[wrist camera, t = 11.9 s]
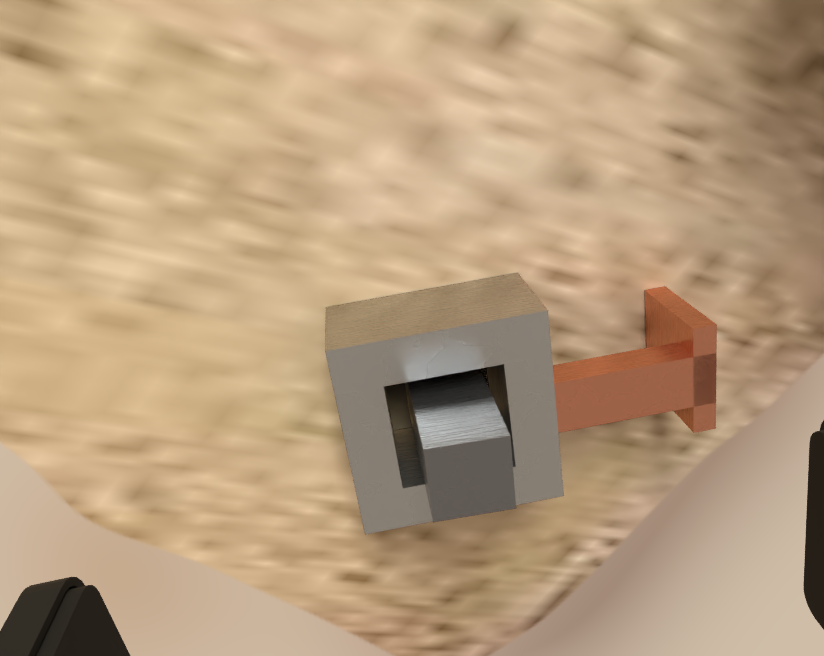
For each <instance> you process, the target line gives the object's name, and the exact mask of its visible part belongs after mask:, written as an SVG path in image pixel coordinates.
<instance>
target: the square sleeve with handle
mask: <svg viewBox="0 0 824 656" xmlns="http://www.w3.org/2000/svg"><path fill="white" fill-rule="evenodd" d="M645 317H646V348H644V349H639V350H633V351H628V352H623V353H617V354H612V355H606V356H601V357H596V358H590V359H585V360H580V361H574V362H569V363H564V364H558V365H553V364H552V352H551V341H550V329H549V317H548V310H547V309H546V307H545V306H544V305H543V304H542V302H541V301H540V300H539V299H538V297H537V296H536V295H535V294H534V292H533V291H532V290H531V289H530V287H529V286H528V285H527V284H526V282H525V281H524V280H523V279H522V278H521V276H520V275H519V274H518V273H514V274H509V275H503V276H498V277H492V278H487V279H481V280H476V281H470V282H464V283H459V284H453V285H448V286H442V287H437V288H431V289H426V290H420V291H415V292H409V293H404V294H398V295H393V296H387V297H381V298H376V299H370V300H365V301H359V302H354V303H348V304H343V305H337V306H332V307H326V328H325V352H326V357H327V361H328V366H329V370H330V375H331V380H332V384H333V389H334V393H335V398H336V403H337V407H338V412H339V416H340V421H341V426H342V430H343V435H344V439H345V444H346V448H347V453H348V458H349V462H350V467H351V471H352V476H353V481H354V485H355V490H356V494H357V499H358V504H359V508H360V513H361V517H362V522H363V526H364V531H365V534H370V533H376V532H381V531H386V530H391V529H396V528H401V527H406V526H412V525H417V524H422V523H427V522H432V521H433V520H432V515H431V511H430V506H429V501H428V497H427V492H426V487H425V483H424V478H423V474H422V469H421V464H420V460H419V455H418V451H417V446H416V441H415V437H414V432H413V427H410V428H405V429H399V430H394V431H393V427H392V422H391V416H390V411H389V405H388V400H387V395H386V389H385V386H389V385H395V384H400V383H405V382H411V381H416V380H422V379H427V378H432V377H438V376H443V375H448V374H454V373H459V372H465V371H470V370H475V369H481V368H486V369H487V377H488V385H489V390H490V392H491V394H492V396H493V399H494V401H495V403H496V405H497V407H498V409H499V412H500V414H501V416H502V418H503V420H504V423H505V425H506V427H507V429H508V431H509V433H510V436H511V448H512V461H513V474H514V487H515V500H516V505H520V504H525V503H530V502H535V501H540V500H546V499H551V498H556V497H561V496H564V492H563V480H562V469H561V457H560V445H559V434H558V433H559V432H564V431H570V430H575V429H580V428H585V427H591V426H596V425H601V424H606V423H612V422H617V421H622V420H627V419H633V418H638V417H643V416H648V415H654V414H659V413H664V412H669V411H674V412H675V413H676V414H677V415H678V416H679V417H680V418H681V420H682V421H683V422H684V423H685V424H686V425H687V426H688V427H689V428H690V429H691V430H692V431H693V433H694V432H700V431H705V430H710V429H715V428H716V339H717V325H716V324H715V323H714V322H712V321H711V320H710V319H708V318H707V317H706V316H704V315H703V314H702V313H700V312H699V311H698V310H696V309H695V308H693V307H692V306H691V305H689V304H688V303H687V302H685V301H684V300H683V299H681V298H680V297H679V296H677V295H676V294H675V293H673V292H672V291H671V290H669V289H668V288H666V287H659V288H654V289H648V290H645Z"/></svg>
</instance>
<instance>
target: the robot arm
mask: <svg viewBox="0 0 824 656" xmlns="http://www.w3.org/2000/svg"><path fill="white" fill-rule="evenodd" d="M804 594H805V598H806V601H807V604H808V607H809V608H810V610H811V612H812V614H813V616H814V617H815V619H816V620H817V621H818V623H819V624H820V625H821V627H822V628H823V629H824V421H823V422H822V424H821V428H820V431H817V432H815V433H813V434H812V436H811V438H810V448H809V472H808V495H807V519H806V544H805V568H804ZM0 656H130V654H129V652H128V650H127V648H126V646H125V644H124V642H123V640H122V638H121V636H120V634H119V632H118V630H117V628H116V626H115V624H114V622H113V620H112V617H111V615H110V614H109V612H108V609H107V607H106V605H105V603H104V601H103V599H102V597H101V595H100V593H99V591H98V590H97V588H95V587H94V586H93V585H88V586H85V585H84V583H83V582H82V581H81V580H80V579H78V578H77V577H69V578H64V579H59V580H55V581H50V582H45V583H40V584H36V585H31V586H29V587H27V588H26V589H25V590H24V591H23V592H22V593H21V595H20V596H19V598H18V600H17V602H16V604H15V605H14V607H13V609H12V611H11V613H10V614H9V616H8V618H7V620H6V622H5V623H4V625H3V627H2V629H1V631H0Z"/></svg>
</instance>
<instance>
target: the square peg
mask: <svg viewBox="0 0 824 656" xmlns="http://www.w3.org/2000/svg"><path fill="white" fill-rule="evenodd" d="M405 387H406V394H407V401H408V409H409V414H410V418H411V423H412V427H413V432H414V437H415V441H416V446H417V451H418V455H419V460H420V464H421V469H422V474H423V478H424V483H425V487H426V492H427V497H428V501H429V506H430V511H431V515H432V520H433V522H437V521H443V520H449V519H455V518H461V517H467V516H473V515H479V514H485V513H491V512H497V511H503V510H509V509H515V508H516V500H515V487H514V474H513V461H512V448H511V436H510V433H509V431H508V429H507V427H506V425H505V423H504V420H503V418H502V416H501V414H500V412H499V409H498V407H497V405H496V403H495V401H494V399H493V396H492V394H491V392H490V390H489V388H488V386H487V383H486V381H485V379H484V377H483V375H482V372H481V370H480V369H475V370H470V371H465V372H459V373H454V374H448V375H443V376H438V377H432V378H427V379H422V380H416V381H411V382H405Z"/></svg>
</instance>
